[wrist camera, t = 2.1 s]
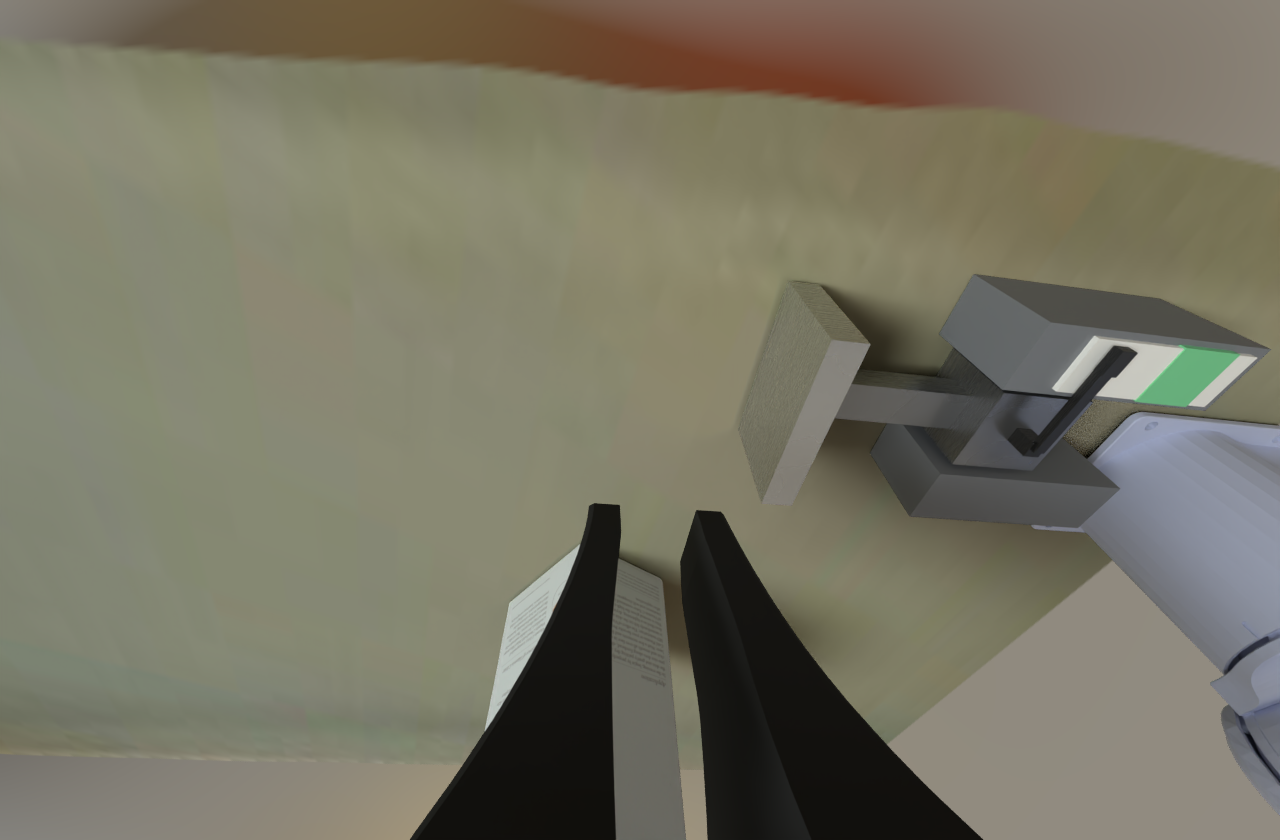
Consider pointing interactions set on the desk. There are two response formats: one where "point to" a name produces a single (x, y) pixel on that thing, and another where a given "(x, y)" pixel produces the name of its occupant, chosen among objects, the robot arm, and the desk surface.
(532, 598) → the small box
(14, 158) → the desk surface
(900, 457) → the gauge housing
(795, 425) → the plunger
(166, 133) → the desk surface
